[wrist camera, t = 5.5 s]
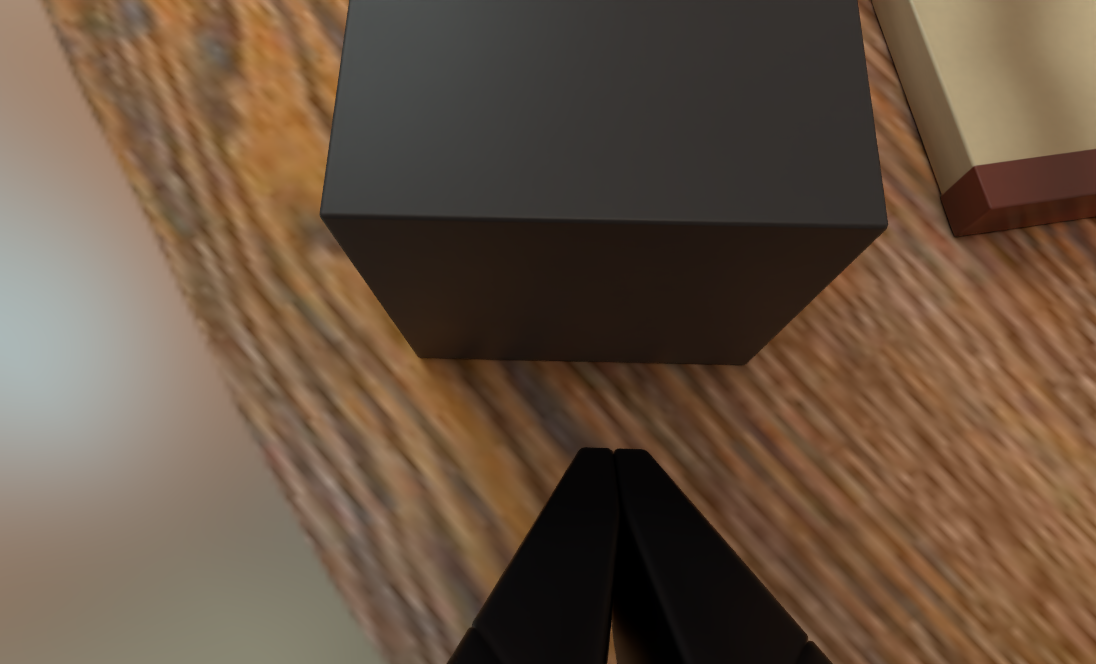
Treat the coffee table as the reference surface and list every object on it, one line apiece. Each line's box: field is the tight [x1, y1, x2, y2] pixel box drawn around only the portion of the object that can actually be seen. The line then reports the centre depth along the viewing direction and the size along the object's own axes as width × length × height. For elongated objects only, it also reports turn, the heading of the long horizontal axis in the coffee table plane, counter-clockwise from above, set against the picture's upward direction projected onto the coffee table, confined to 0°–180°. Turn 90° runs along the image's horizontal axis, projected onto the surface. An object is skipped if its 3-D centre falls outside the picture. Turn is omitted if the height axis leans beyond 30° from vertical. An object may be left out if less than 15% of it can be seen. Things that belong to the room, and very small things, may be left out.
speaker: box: [320, 0, 888, 365], centre depth 15 cm, size 12×8×8 cm
